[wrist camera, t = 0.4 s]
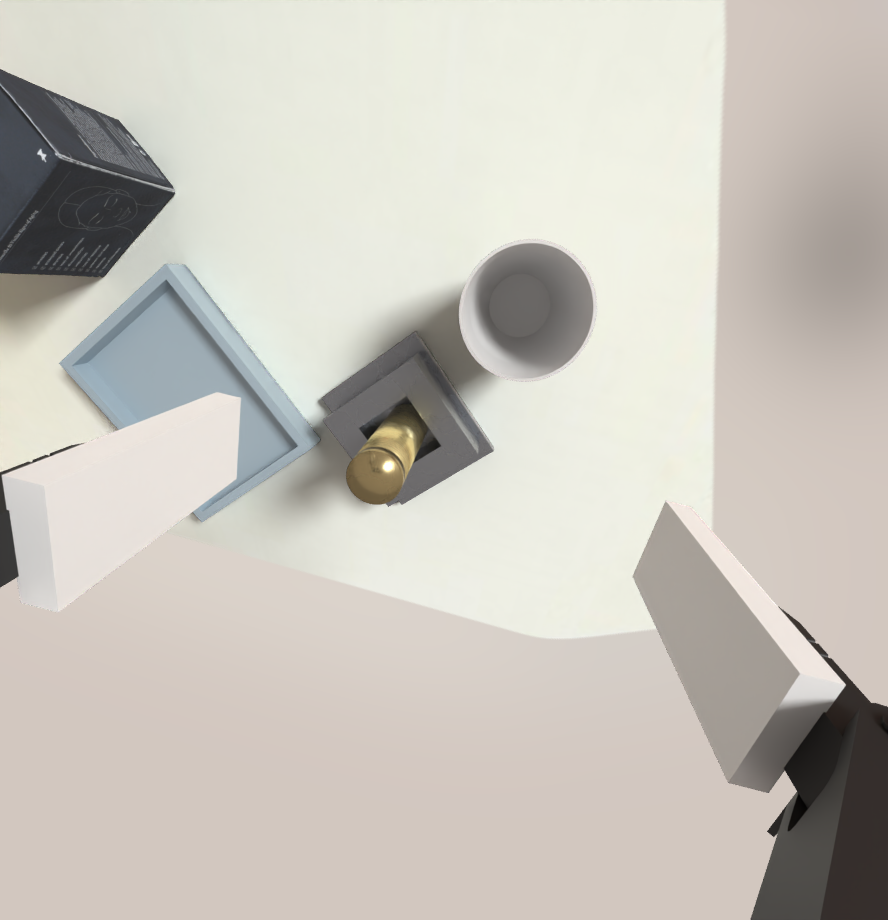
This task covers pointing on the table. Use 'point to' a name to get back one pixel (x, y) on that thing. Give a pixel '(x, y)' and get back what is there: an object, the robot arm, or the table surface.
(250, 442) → the tray
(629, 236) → the table surface
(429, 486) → the block
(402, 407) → the pin
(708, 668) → the robot arm
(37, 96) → the box
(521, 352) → the cup
